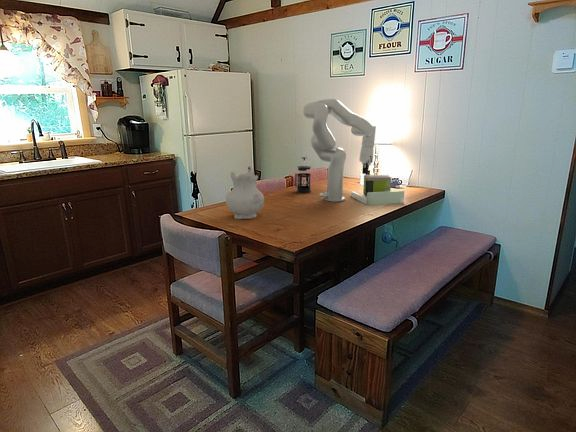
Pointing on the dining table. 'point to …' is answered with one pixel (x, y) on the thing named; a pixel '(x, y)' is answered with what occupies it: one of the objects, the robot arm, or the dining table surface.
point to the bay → (380, 197)
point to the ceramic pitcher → (245, 196)
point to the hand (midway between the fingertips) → (365, 173)
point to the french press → (303, 188)
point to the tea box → (376, 183)
